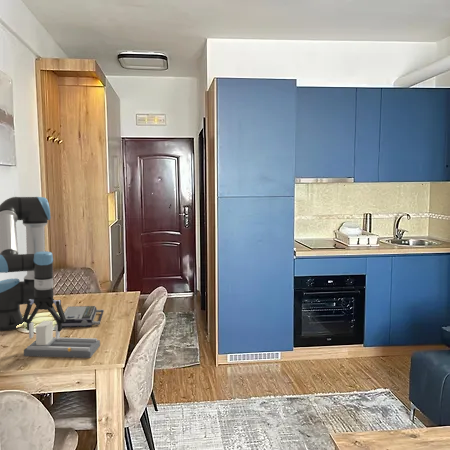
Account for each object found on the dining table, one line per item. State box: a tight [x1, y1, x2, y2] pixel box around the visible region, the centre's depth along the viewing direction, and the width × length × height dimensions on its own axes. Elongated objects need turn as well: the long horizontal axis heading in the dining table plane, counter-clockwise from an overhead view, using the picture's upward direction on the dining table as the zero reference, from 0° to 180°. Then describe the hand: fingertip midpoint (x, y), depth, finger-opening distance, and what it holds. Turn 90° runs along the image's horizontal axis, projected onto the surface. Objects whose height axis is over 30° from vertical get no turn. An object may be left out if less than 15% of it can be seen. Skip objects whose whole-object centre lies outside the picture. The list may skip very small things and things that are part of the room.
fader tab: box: [34, 320, 55, 346], centre depth 196 cm, size 6×8×9 cm
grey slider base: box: [23, 336, 101, 359], centre depth 197 cm, size 28×14×4 cm, turn 89°
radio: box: [62, 305, 105, 329], centre depth 239 cm, size 24×5×20 cm
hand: (44, 337), depth 196 cm, fingers open, 11 cm apart
